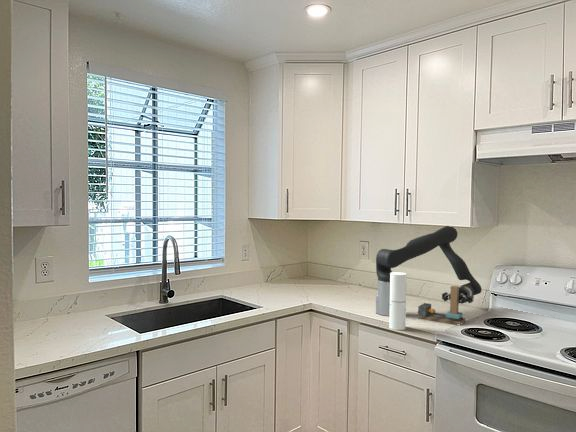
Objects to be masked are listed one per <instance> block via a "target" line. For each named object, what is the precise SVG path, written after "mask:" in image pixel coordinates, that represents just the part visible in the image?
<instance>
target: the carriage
mask: <svg viewBox="0 0 576 432" xmlns="http://www.w3.org/2000/svg"><path fill="white" fill-rule="evenodd" d="M459 287H460V286H459V285H450V293H451V297H450V300H449V302H450V305H449V306H450V307H449V310H448V312H446V313H445V314H446V317H450V318H456V319H459V318H461V317H464V315H463V314H464V313H463V312H460V311H459V304H460V303H459Z"/></svg>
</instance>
